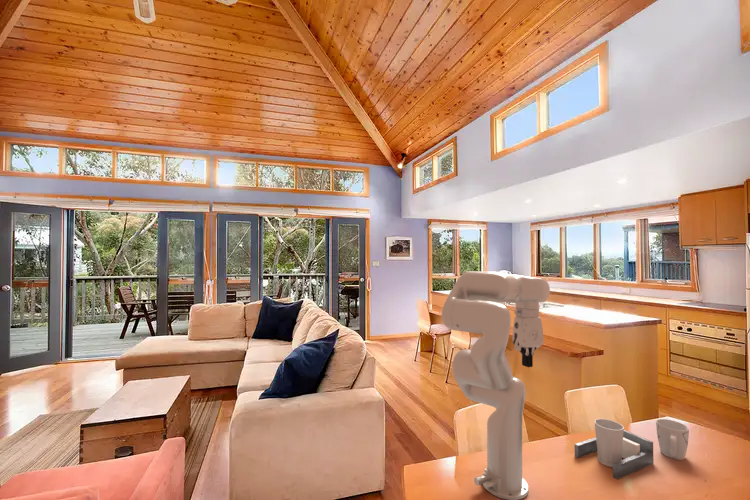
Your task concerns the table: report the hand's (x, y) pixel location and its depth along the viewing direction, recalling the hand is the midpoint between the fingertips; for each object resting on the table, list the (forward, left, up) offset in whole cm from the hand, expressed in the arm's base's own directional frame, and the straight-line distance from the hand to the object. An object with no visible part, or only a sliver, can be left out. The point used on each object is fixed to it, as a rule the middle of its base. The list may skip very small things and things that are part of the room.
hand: (527, 365), depth 121 cm
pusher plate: (+24, -17, -28) cm, 41 cm away
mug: (+40, -24, -28) cm, 55 cm away
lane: (+19, -17, -28) cm, 38 cm away
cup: (+18, -17, -28) cm, 37 cm away
